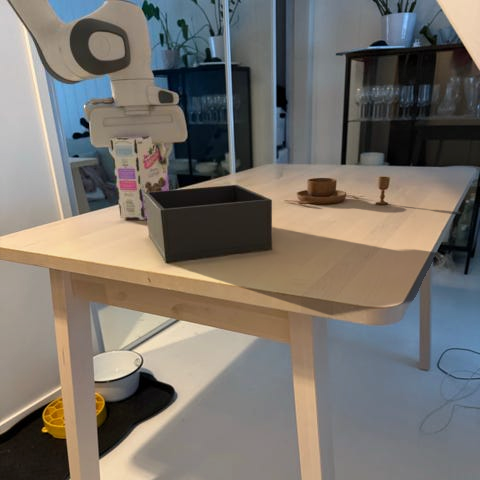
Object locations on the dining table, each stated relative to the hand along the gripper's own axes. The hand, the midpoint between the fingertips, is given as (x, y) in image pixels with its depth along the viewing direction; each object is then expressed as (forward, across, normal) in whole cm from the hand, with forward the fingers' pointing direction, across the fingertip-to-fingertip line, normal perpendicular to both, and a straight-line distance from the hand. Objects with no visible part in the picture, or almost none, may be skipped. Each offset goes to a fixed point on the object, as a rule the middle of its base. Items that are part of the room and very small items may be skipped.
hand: (143, 166), depth 100 cm
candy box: (+10, 0, 0) cm, 10 cm away
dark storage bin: (+10, +6, -30) cm, 32 cm away
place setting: (+11, +42, -8) cm, 45 cm away
